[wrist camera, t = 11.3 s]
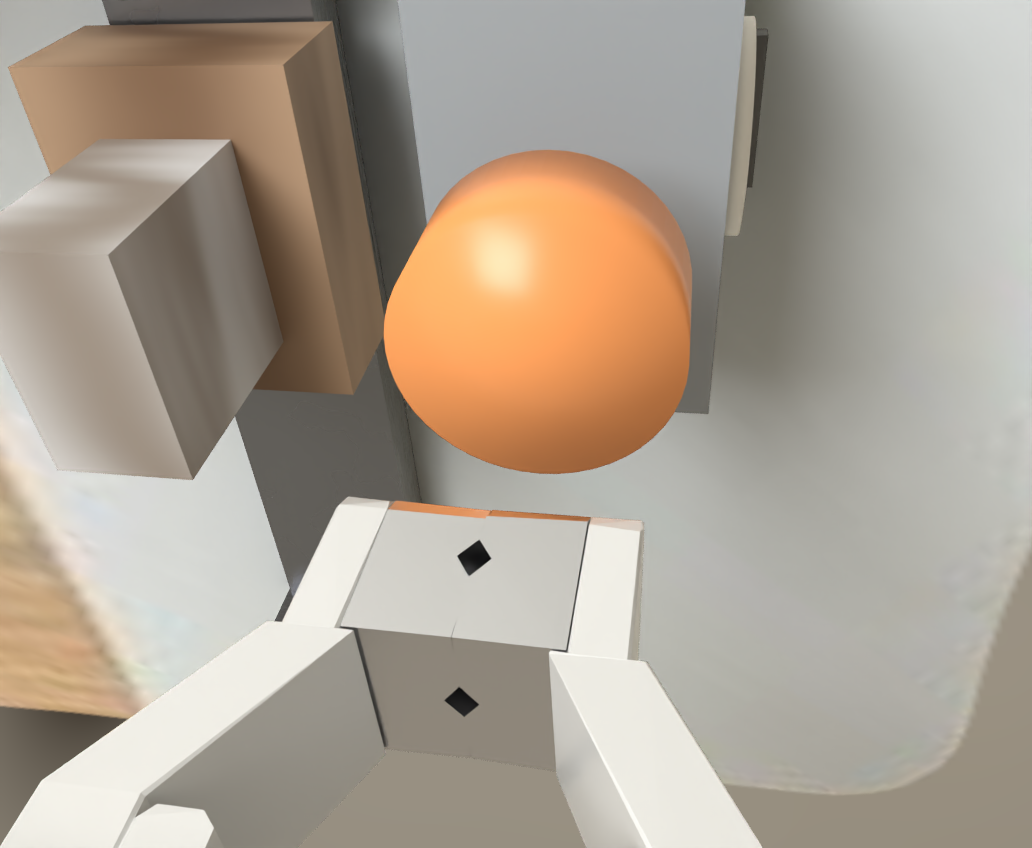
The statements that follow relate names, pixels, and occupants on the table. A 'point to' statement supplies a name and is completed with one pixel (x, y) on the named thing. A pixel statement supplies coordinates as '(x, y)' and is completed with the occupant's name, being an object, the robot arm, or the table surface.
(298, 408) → the rail
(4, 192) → the table surface
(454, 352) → the button
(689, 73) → the cabinet
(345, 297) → the carriage
